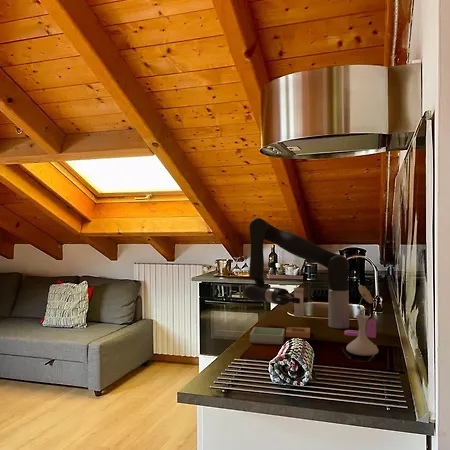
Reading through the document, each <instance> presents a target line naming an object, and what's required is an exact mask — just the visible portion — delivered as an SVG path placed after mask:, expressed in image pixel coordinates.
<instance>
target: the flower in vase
mask: <svg viewBox="0 0 450 450" xmlns="http://www.w3.org/2000/svg"><path fill="white" fill-rule="evenodd" d="M358 291H359V293H360V295H361V298H360V300H359V303H358V304H357V305H356V308H357V309H358V310H359V312H360V314H356V315H355V318H356V319H357V323H358V331H359V335H358V336H356V338H355V339H353V340H351V341H350V342H349V343H348V344H347V345H346V347H345V348H346V349H345V350H346V351H347V352H348V353H350V354H352V355H356V356H363V357H364V356H367V357H368V356H374V355H377V354H378V353H379V348H378V346H376V344H375V343H373V342H372V340H370V339H369V337H366V333H365V331H366V324H367V321H368V320H369V319H370V316H369V315H365V314H362V312H364V311H366V310H367V309H368V308H367V307H365V308H364V309H362V310H361V304H362V300H363V299H364V300H365V301H366V302H367V303H369V304H373V303H374V301H373V300H374V297H373V296H372V294H371V291H370V290H368V288H366V286H365V285H362V284H360V285H358Z"/></svg>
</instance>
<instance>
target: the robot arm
mask: <svg viewBox="0 0 450 450" xmlns="http://www.w3.org/2000/svg"><path fill="white" fill-rule="evenodd" d="M248 228H249V230H248V231H249V238H250V253H249V254H250V257H249V258H250V259H249V268H248V277H249V279H250V280H253V281H254V283H255V284H248V285H246V287H244V295H245V297H246V298H247V299H249V300H254V301H255V300H256V301H262V302H267V303H271V304H273V305H277V306H278V305H279V306H285V305H287V304H294V303H297V304H299V303H300V298H295V297H294V292H293V293H292V292H289V290H288V289H286V288H284V287H283V288H282V287H275V286H273V287H271V286H266V284H265V279H264V270H265V255H264V241H267V242H271V243H273V244H275V245H276V246H277V247H279V248H281V249H283V251H286V252H288V253H290V254H291V255H293V256H295V257H297V258H300V259H302V260H303V259H304V260H307V261H310V262H313V263H316V264H319V265H321V266H323V267H325V269H327V284H328V302H327V303H328V310H327V311H328V312H327V313H328V318H327V319H328V327H329V328H333V329H349V328H350V307H349V306H350V304H349V301H350V299H349V298H350V296H349V295H350V293H349V292H350V284H349V268H350V262H349V259H348V258H347V257H345V256H344V255H340V254H338V253H334V252H332V251H329V250H326V249H324V248H322V247H321V246H319V245H317V244H315V243H314V242H312V241H310V240H308V239H306V238H303V237H301V236H300V235H297V234H294V233H291V232H288V231H286V230H281V229H279V228H278V227H275V226H273V225H272V224H270V222H269V223H268V221H266V220H264V219H263V218H259V217H257V218H254V219H253V220H251V221H250V223H249V225H248ZM308 301H309V298H308V297H307V296H305V295H304V294H303V303H307V304H308V303H309V302H308Z"/></svg>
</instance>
